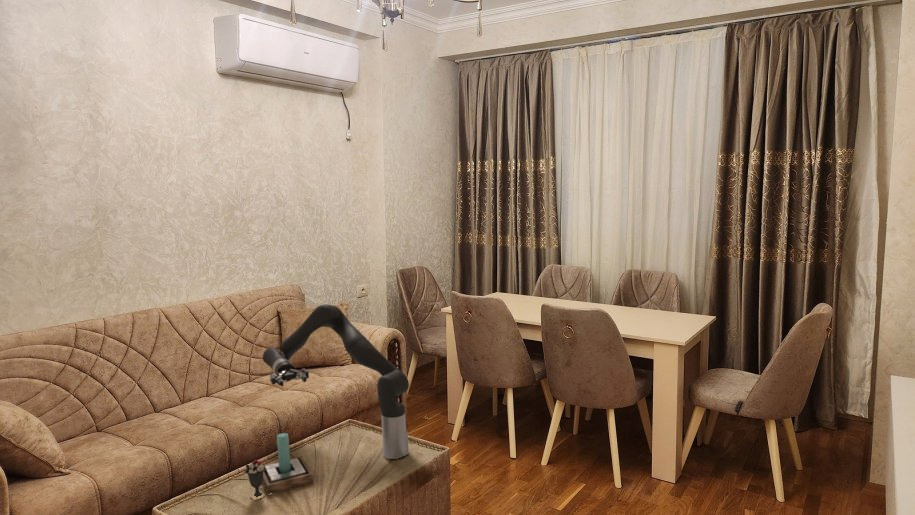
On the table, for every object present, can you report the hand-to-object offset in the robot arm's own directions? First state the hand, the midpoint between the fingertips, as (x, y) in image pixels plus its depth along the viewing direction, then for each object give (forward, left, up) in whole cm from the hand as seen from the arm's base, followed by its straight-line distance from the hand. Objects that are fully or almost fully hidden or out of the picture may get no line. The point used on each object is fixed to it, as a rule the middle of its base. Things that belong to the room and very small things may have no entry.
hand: (293, 381), depth 239 cm
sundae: (+19, +19, -32) cm, 42 cm away
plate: (+8, +12, -32) cm, 35 cm away
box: (+8, +12, -32) cm, 35 cm away
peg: (+8, +12, -31) cm, 34 cm away
